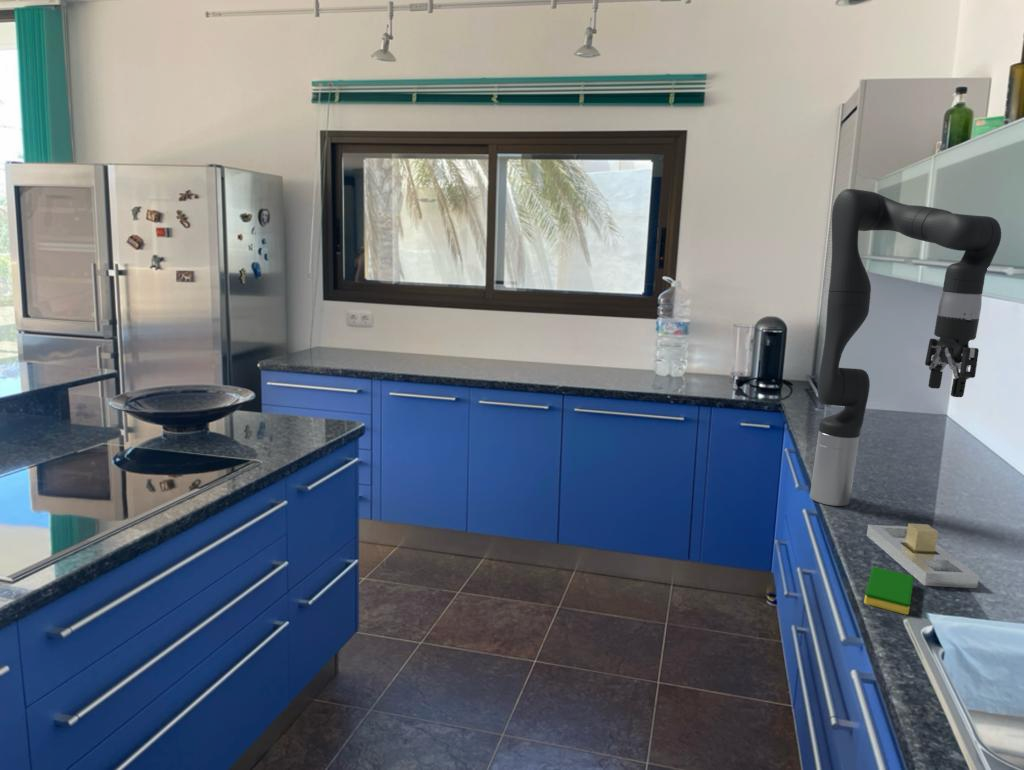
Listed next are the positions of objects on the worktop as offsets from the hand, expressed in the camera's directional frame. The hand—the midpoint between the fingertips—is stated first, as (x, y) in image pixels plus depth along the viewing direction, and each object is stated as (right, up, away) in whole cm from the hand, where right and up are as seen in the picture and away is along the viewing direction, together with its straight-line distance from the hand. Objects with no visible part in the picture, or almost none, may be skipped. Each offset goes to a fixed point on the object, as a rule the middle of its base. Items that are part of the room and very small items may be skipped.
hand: (945, 392), depth 159 cm
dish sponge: (-22, -37, -20) cm, 47 cm away
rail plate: (-8, -34, -4) cm, 35 cm away
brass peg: (-8, -34, -4) cm, 35 cm away
